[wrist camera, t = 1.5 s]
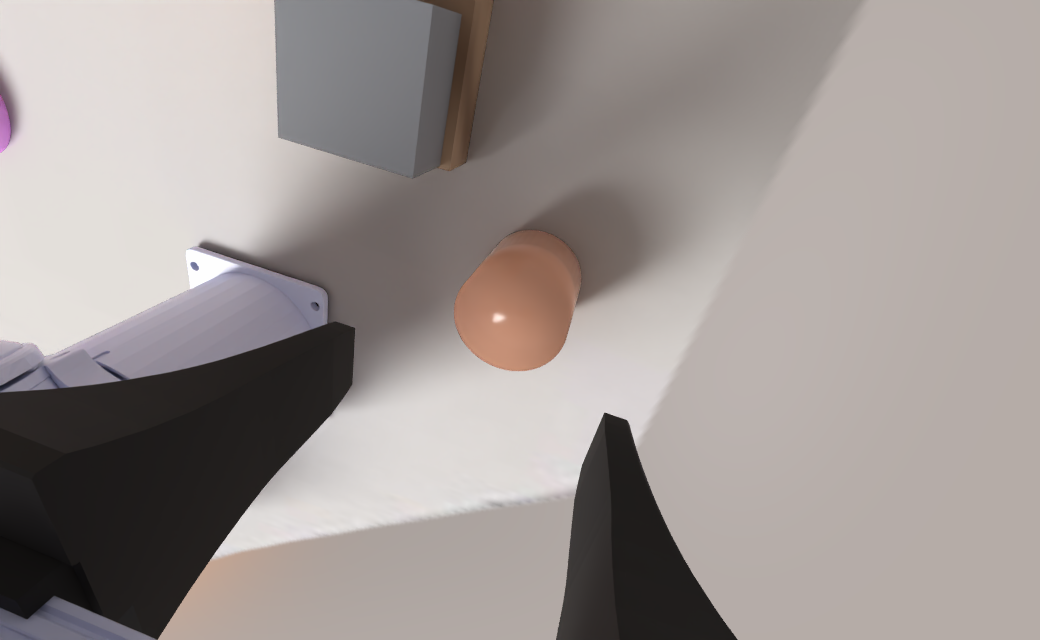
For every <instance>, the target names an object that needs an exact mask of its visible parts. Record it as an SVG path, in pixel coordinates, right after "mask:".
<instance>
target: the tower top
mask: <svg viewBox="0 0 1040 640" xmlns="http://www.w3.org/2000/svg"><path fill="white" fill-rule="evenodd" d="M274 2H275V38H276V73H277V109H278V137H279V138H282V139H285V140H288V141H292V142H295V143H298V144H301V145H305V146H308V147H311V148H314V149H318V150H321V151H324V152H328V153H331V154H334V155H337V156H341V157H344V158H347V159H350V160H354V161H357V162H360V163H363V164H367V165H370V166H373V167H377V168H380V169H383V170H386V171H390V172H393V173H396V174H399V175H403V176H406V177H409V178H412V179H413V178H415V177H417V176H419V175H421V174H424V173H426V172H428V171H430V170H432V169H434V168H437V167H439V166H440V163H441V156H442V149H443V142H444V135H445V128H446V121H447V114H448V107H449V100H450V93H451V86H452V79H453V72H454V65H455V59H456V52H457V45H458V38H459V31H460V24H461V17H462V14H459V13H456V12H453V11H450V10H447V9H444V8H441V7H438V6H435V5H432V4H429V3H425V2H421V1H418V0H274Z"/></svg>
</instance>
